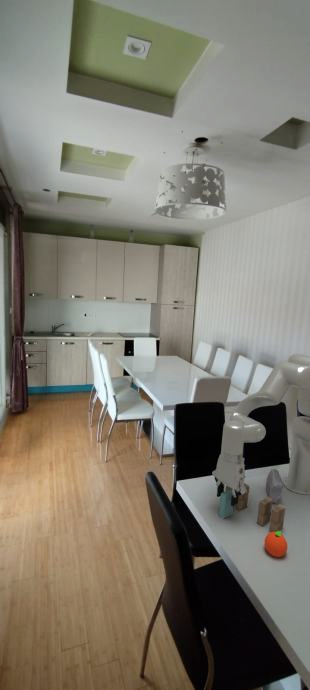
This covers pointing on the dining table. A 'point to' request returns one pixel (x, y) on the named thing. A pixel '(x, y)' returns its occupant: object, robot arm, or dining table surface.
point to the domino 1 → (225, 504)
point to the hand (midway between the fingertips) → (226, 499)
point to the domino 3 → (264, 511)
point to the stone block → (274, 485)
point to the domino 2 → (242, 499)
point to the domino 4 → (277, 518)
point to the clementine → (276, 544)
